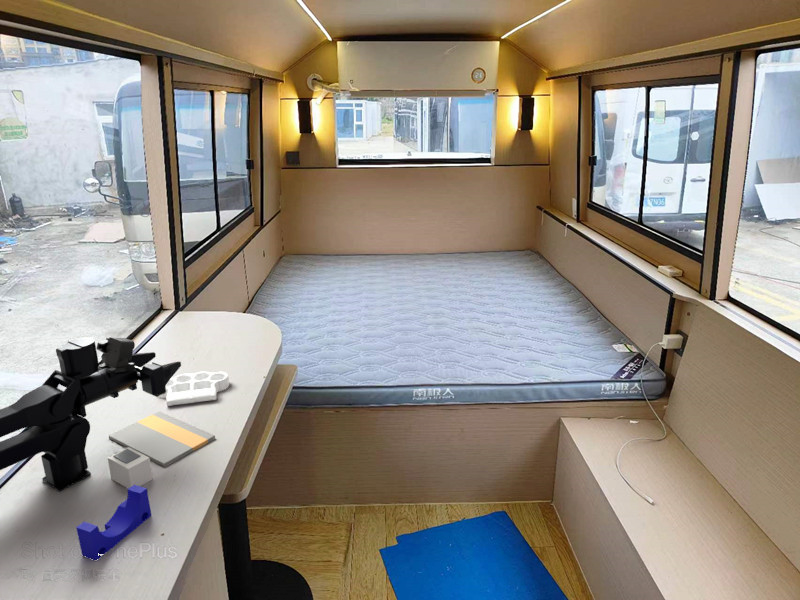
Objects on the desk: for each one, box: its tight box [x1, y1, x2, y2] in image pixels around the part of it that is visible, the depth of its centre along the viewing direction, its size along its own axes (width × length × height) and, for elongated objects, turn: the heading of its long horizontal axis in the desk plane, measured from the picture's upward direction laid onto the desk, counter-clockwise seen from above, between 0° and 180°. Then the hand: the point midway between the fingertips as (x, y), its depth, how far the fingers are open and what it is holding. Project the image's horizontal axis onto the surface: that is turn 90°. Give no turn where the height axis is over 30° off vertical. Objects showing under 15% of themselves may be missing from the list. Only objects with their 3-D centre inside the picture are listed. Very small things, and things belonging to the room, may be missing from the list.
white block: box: [107, 447, 154, 489], centre depth 114 cm, size 4×7×5 cm, turn 57°
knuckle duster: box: [157, 371, 230, 407], centre depth 150 cm, size 3×18×15 cm
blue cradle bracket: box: [75, 485, 152, 561], centre depth 99 cm, size 12×4×6 cm, turn 158°
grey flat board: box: [108, 410, 216, 468], centre depth 129 cm, size 13×20×1 cm, turn 57°
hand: (167, 358), depth 130 cm, fingers open, 9 cm apart
